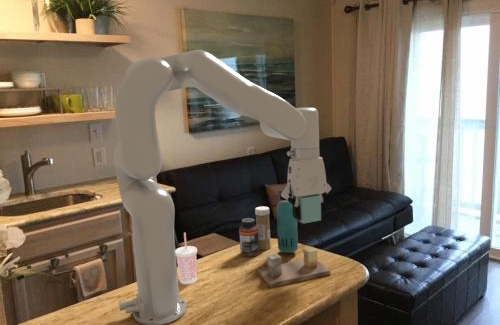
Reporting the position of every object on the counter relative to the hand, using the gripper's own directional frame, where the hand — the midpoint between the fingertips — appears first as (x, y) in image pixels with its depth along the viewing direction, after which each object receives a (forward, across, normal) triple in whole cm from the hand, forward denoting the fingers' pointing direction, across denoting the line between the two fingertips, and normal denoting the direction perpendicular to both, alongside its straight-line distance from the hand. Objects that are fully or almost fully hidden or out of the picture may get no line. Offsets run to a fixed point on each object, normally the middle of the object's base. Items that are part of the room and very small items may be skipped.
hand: (307, 216), depth 123 cm
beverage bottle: (+16, 0, +14) cm, 21 cm away
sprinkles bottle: (+16, -5, +22) cm, 27 cm away
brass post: (+15, 0, 0) cm, 15 cm away
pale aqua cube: (+1, 0, 0) cm, 1 cm away
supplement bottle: (+16, -11, +19) cm, 27 cm away
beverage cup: (+16, -33, +9) cm, 38 cm away
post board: (+16, -5, 0) cm, 17 cm away
